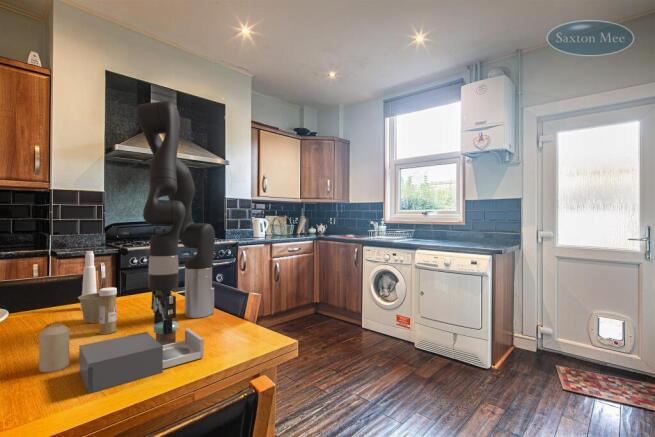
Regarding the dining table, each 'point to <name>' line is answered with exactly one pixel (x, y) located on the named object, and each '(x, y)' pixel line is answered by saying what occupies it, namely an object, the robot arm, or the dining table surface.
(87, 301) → the flower pot
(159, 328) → the teal flattened disc
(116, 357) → the block
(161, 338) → the block
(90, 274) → the cosmetic bottle
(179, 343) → the tray
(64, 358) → the candle
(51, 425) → the dining table surface
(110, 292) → the sprinkles bottle
